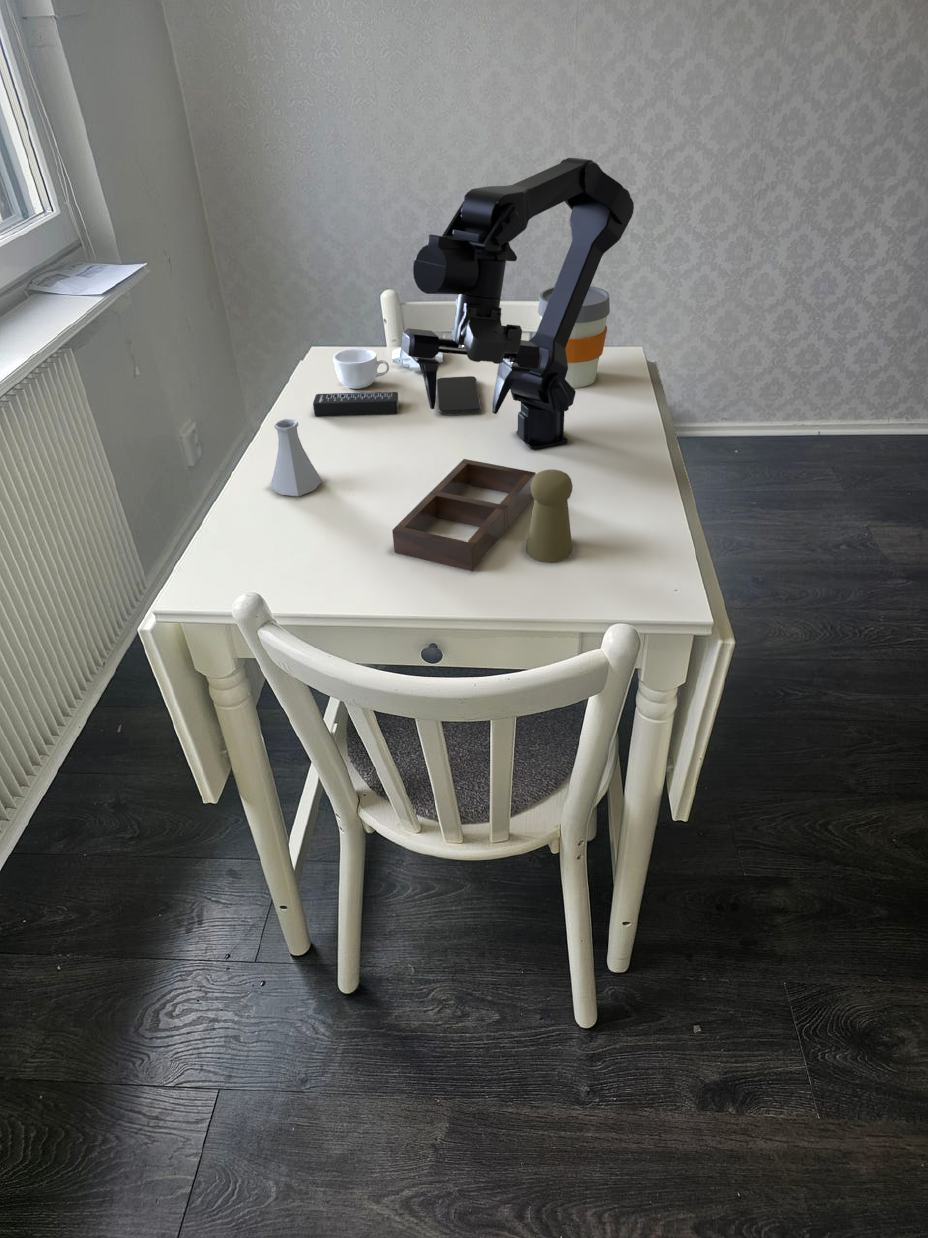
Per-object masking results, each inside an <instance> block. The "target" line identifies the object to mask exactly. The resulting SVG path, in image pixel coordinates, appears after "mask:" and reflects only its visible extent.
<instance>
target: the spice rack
mask: <svg viewBox="0 0 928 1238" xmlns="http://www.w3.org/2000/svg"><path fill="white" fill-rule="evenodd" d="M536 474H537V473H536V471H531V470H524V469H519V468H516V467H515V468H514V467H509V466H504V465H499V464H494V463H489V462H484V461H483V462H482V461H478V460H473V459H467V458H463V459H462V460H461V461H460V462H458V464H457V465H456V466H455V467H454V468H453V469H452V470H451V471H450V472H449V473H448V474H447V475H446V476H445V477H444V478H443V479H442V480H441V481H440V482H439V483H438V484H437V485H436V486H435V487H434V488H433V489H432V490H431V491H430V492H429V493H428V494H427V495H426V496H425V497H424V498H423V499H422V500H420V501H419V503H418V504H417V505H416V506H415V507H414V508H413V509H412V510H411V511H410V512H408V513H407V515H406V516H404V518H403V519H402V520H401V521H399V523H397V525H395V527H394V528H393V529H391V530H392V541H393V552H394V553H395V554H398V555H399V554H400V555H404V556H407V557H411V558H416V559H420V560H425V561H429V562H432V563H436V564H441V565H445V566H449V567H453V568H457V569H462V570H466V571H469V572H474V570H475V569H476V568H477V566H478V565H479V564H480V563H481V562H482V560H483V559H484V558H485V556H486V555H487V554H488V553H489V551H490V550H491V549H492V548H493V547H494V546H495V544H496V543H497V542H498V540H499V539H500V538H501V537H502V535H503V534H504V533H505V532H506V531H507V529H508V528H509V527H511V525H512V524H513V522H514V521H515V520H516V519H517V517H518V516H519V515H520V514H521V513H522V511H523V510H524V508H526V506H527V505H528V504H529V502H530V501H531V500H532V499H533V496H532V493H531V482H532V479H533V477H534V476H535V475H536ZM468 486H473V487H479V488H483V489H488V490H494V491H498V492H503V493H508V494H506V496H505V497H504V499H503V500H502V501H501V502H500V503H496V502H491V501H486V500H481V499H477V498H471V497H467V496H462V495H460V494H461V493H462V492H463V491H464V490H465V489H466V488H467V487H468ZM437 518H440V519H444V520H448V521H452V522H457V523H462V524H466V525H471V526H475V527H478V528H477V530H476V531H475V532H474V533H473V535H471V537H470V538H469V539H468V540H467V541H465V540H462V539H457V538H454V537H453V538H452V537H448V536H445V535H444V536H443V535H439V534H434V533H431V532H427V531H426V530H427V529H428V528H429V527H430V526H431V525H432V524H433V522H434V521H435V520H437Z"/></svg>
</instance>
